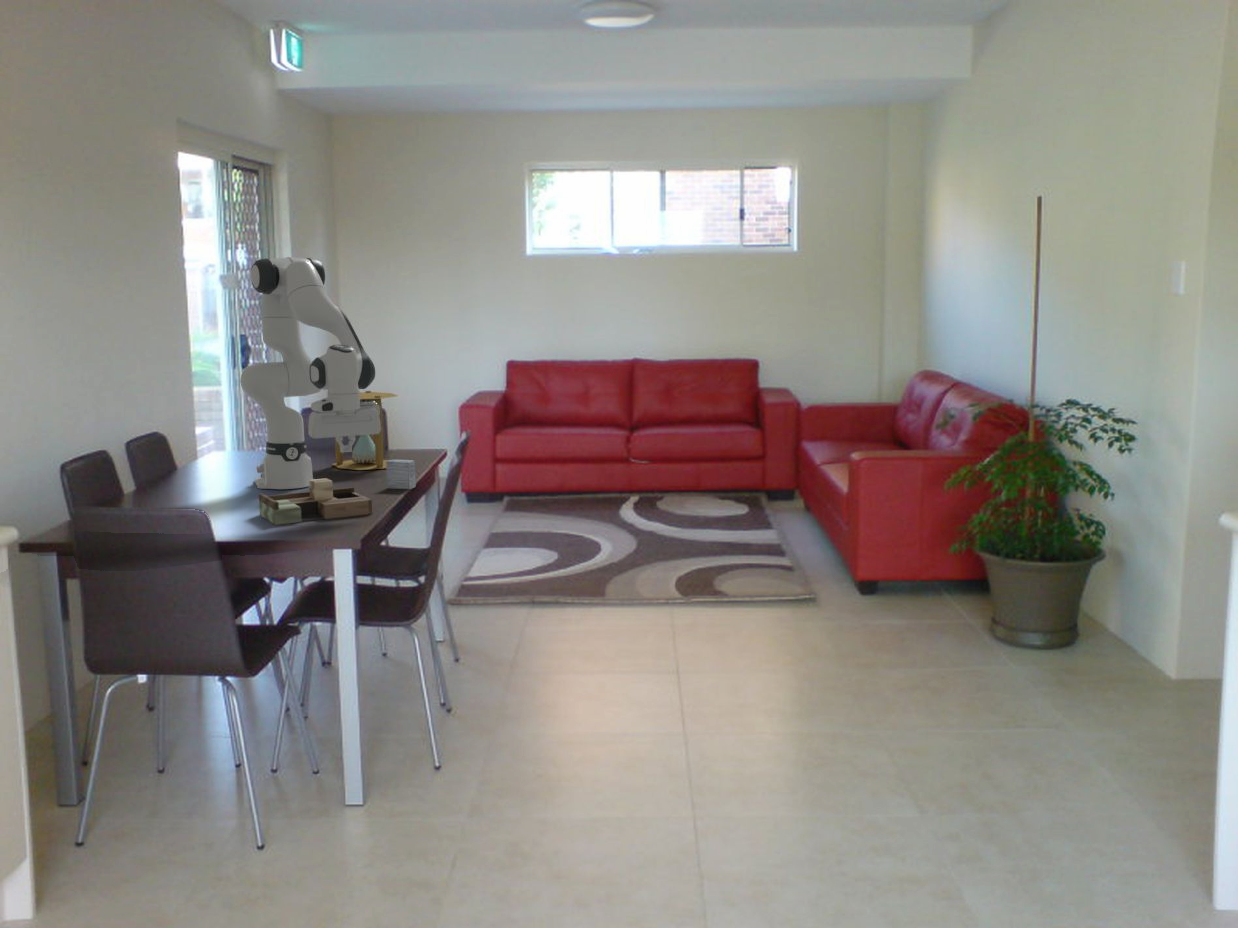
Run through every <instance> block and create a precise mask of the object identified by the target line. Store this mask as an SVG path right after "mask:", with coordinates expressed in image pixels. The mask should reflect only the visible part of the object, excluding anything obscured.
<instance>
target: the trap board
mask: <svg viewBox="0 0 1238 928" xmlns="http://www.w3.org/2000/svg"><path fill="white" fill-rule="evenodd" d="M258 499H259V500H258V503H259V516H261V517H263V518H264V519H266V520H268V521H269V522H270V523H272V524H274V525H276V526H277V525H278V526H279V525H284V524H285V525H286V524H293V523H294V524H295V523H301V522H302V523H304V522H311V521H321V520H330V519H331V520H332V519H339V518H347V517H356V516H366V515H372V514H373V502H372V501H373V500H372V499H371V498H369V497H367V496H364V495H362V494H360V493H357V492H355V487H343V488H342V487H341V488H333V499H323V500H314V499H312V498H310V491H303V492H302V491H301V492H291V493H282V494H271V495H266V494H265V493H263V492H262V493H258Z"/></svg>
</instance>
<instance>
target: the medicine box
mask: <svg viewBox="0 0 1238 928" xmlns="http://www.w3.org/2000/svg"><path fill="white" fill-rule="evenodd" d="M388 460H389V461H387V462H386V468H385V469H386V489H393V490H413V489H414V488H416V487H417V485H416V484H417V482H416V461H415V460H412V459H388Z"/></svg>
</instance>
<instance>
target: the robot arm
mask: <svg viewBox="0 0 1238 928" xmlns="http://www.w3.org/2000/svg"><path fill="white" fill-rule="evenodd" d="M325 272H326V271H325V267H324V265H323V264H322V262H321V261H320V260H319V259H315V258H311V257H307V258H304V257H303V258H302V257H293V256H287V257H277V258H270V259H269V258H266V257H265V258H261V259H257V260H256V261H254V263H253V264H252V266H251V269H250V280H251V281H250V282H251V285H252V287H253V288H254V290H256V292H257V293H259V294H262V295H261V330H262V332H261V333H262V341H263V342H264V344H265V345H266V346H267V348H270V349H271V350H273V351H275V352H279V353H280V355H281V358H282V361H276V362H275V361H273V362H259V363H255V364H251V365H247V366H246V367H245V368H244V369H243V371H242V373H241V375H240V386H241V388H242V391H243V392H244V394H245V395H247V397H249V398H250V399H252V400H253V401H255V403H256V404H257V405H258V406H259V407H260V409H261V411H262V413H263V416H264V418H265V424H266V426H265V427H266V432H267V434H266V435H267V441H266V446H265V453H266V454H265V456H264V458H263V459H262V462H261V464H260V465H256V473H257V474H260V476H259V477H255V478H254V484H255V485H256V488H257V489H263V490H264V489H268V490H269V489H270V490H290V489H291V490H294V489H295V490H296V489H301V488H306V487H309V480H314V479H315V478H314V477H313V466H312V459H311V457H310V456H309V455H308V454H307V453H306V452H307V444H306V440H305V431H304V430H305V427H304V418H303V416H302V414H301V413H300V412H299V411H297V410H296V409H293V408H291V407H290V406H287V405H286V404H285V398H291V397H292V398H295V397H305V396H307V397H308V396H310V395H314V394H318V393H320V392H321V390H325V391H327V396H326V397H324V398H322V399H320V400H317V401H313V402H312V403H311V405H310V409H311V410H312V412H311V413H309V417H308V424H307V425H308V427H307V428H308V429H307V430H308V431H307V432H308V435H309V437H310V438H312V439H329V438H335V437H336V441H337V443H338V444H339V446H340V452H341V453H343V454H344V453H352V451H353V445H354V443H355V442H356V436H361V435H370V434H374V435H375V434H379V433H380V431H381V424H380V418H379V414H380V407H379V405H378V404H377V403H375V402H360V392H361V391H360V390H365V389H367V388H368V387H369V386H370V385H372V383H373V382H374V380H375V377H376V367H375V364H374V361H373V360H372V359H371V357H370V356H369V355H368V353H367V352H366V350H365V348H364V347H363V345H362V343H361V341H360V339H359V337H358V335H357V333H356V330H354V327H353V325H352V324H351V321H350V319H349V318H348V316H347V314H346V313H345V312H344V310H342V309H341V308H340V307H338V306H336V304H334V302H333V301H332V300H331V299H330V297H329V295H328V294H327V291H326V288H325V282H326V273H325ZM300 323H302V324H303V325H305V326H308V327H313V328H317V329H320V330H323V331H326V332H329V333H331V334H332V335H334V336H335V337H336V338H337V340H338V342H339V343H340V344H333V345H330V346H328V347H327V349H326V353H325V354H322V355H320V356H319V357H316V358H314V359H312V358H311V356H309V354H308V353H307V351H306V349H305V348H304V345H303V343H302V339H301V331H300V330H301V329H300ZM375 404H376V405H375ZM368 405H370V406H368ZM344 437H348V440H349V441H348V443H347V444H346V445H344V442H343V443H342V442H341V441H342V440H343V441H344Z"/></svg>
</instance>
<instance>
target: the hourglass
mask: <svg viewBox="0 0 1238 928" xmlns="http://www.w3.org/2000/svg"><path fill="white" fill-rule="evenodd" d="M393 397H399V395H398V394H394V393H391V392H389V393H388V392H376V391H372V390H366V391H364V392H362V391H360V402H375V403H377V404H378V405H379V407H380V414H379V418H380V424H381V431H380V433H379V434H370V435H359V438H358V439H357V441H356V444H355V445H354V447H353V448H352V452H351V453H352V454H351V459H348V460H344V453H341V452H340V446H339V444H338V443H337V441H336V437H334V445H335V446H334V447H335V450H334V451H335V461H336V462H335V463H334V462H333V463H331V465H332V466H334V467H336V468H338V469H343V470H345V469H346V470H355V471H356V470H357V471H364V470H366V471H367V470H376V469H377V470H383V469H386V462H387V461H389V460H390V459H384V429H383V428H384V427H383V406H382V405H383V403H382V399H386V398H388V399H389V398H393ZM375 405H376V404H375ZM368 406H370V405H368ZM341 442H342V443H343V444H344V439H343V440H342V441H341Z"/></svg>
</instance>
